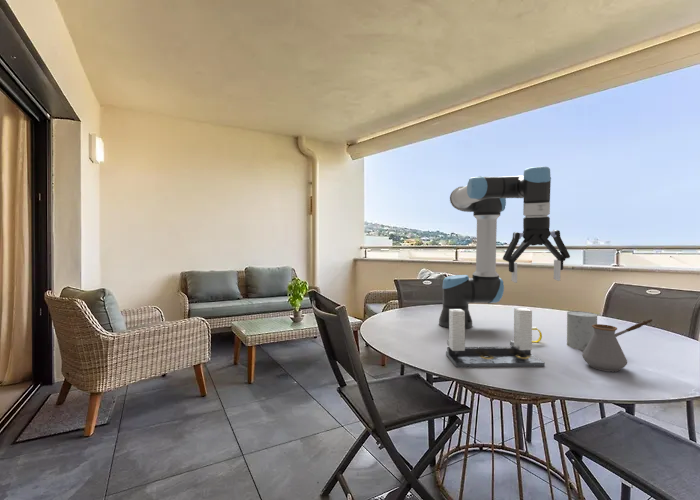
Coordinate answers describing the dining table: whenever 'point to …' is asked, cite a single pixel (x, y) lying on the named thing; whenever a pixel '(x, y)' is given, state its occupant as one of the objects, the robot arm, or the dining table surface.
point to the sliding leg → (456, 330)
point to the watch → (540, 335)
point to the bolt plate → (493, 357)
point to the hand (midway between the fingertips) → (535, 280)
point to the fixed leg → (522, 330)
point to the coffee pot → (607, 348)
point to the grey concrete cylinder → (580, 328)
